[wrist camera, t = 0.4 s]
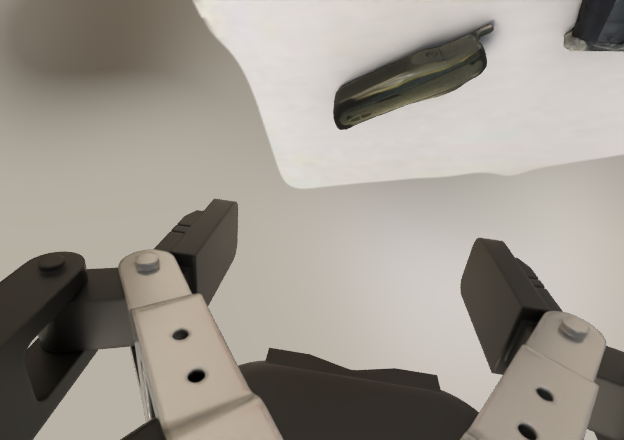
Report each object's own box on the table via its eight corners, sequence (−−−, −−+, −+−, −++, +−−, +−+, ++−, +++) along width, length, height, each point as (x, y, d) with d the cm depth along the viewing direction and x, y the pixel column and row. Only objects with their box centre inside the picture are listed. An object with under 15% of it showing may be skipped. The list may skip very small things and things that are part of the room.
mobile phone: (340, 138, 36) (512, 69, 30) (326, 112, 34) (505, 33, 28) (342, 113, 39) (496, 47, 34) (329, 88, 38) (489, 14, 32)
